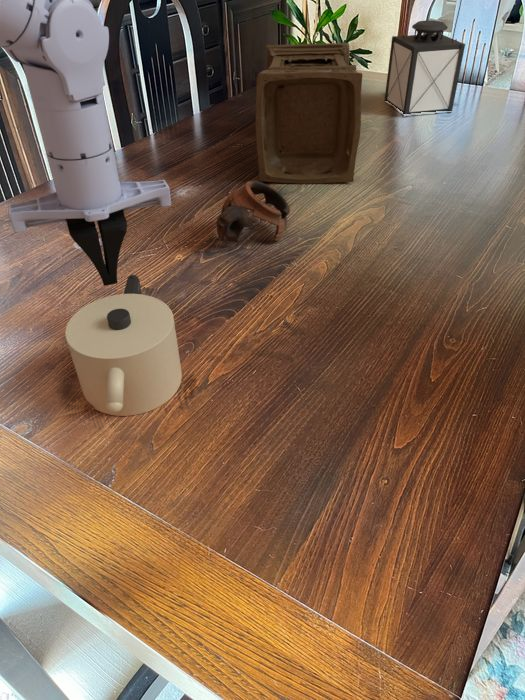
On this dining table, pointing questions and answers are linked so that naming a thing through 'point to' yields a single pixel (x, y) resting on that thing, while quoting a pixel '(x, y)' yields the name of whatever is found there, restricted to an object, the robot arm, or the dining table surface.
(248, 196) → the brown hollow curved piece
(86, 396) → the kettle
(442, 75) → the lantern
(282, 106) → the ornamental box
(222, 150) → the dining table surface
